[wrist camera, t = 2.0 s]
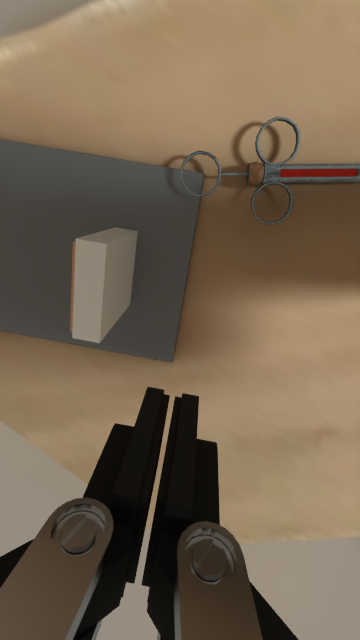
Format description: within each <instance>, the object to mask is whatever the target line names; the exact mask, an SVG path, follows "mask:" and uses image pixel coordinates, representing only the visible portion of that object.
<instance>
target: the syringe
mask: <svg viewBox="0 0 360 640" xmlns="http://www.w3.org/2000/svg"><path fill="white" fill-rule="evenodd" d="M276 120H278V121H285V122H287V123H288V124H290V125H291V126H292V127H293V129H294V131H295V133H296V145H295V149H294V152H293V153H292V155H291V156H290V158H289V159H287V160H286V161H284V162H282V163H277V164H273V163H270V162H268V161H266V160H265V159H264V157H263V156H262V155H261V153H260V150H259V143H258V142H259V137H260V134H261V133H262V131H263V129H264V128H265V127H266V126H267V125H268V124H270V123H272V122H274V121H276ZM299 144H300V131H299V129H298V127H297V125H296V124H295V123H294V122H293V121H291V120H290V119H288V118H284V117H275V118H273V119H271V120H269V121H268V122H267V123H266V124H265V125H264V126H263V127H262V128H261V129H260V131H259V133H258V135H257V137H256V142H255V146H256V152H257V155H258V157H259V158H260V159H261V161H262V162H263V163H264V164H261V163H258V162H253V163H248V167H247V173H221V167H220V164H219V162H218V160H217V158H216V157H214V156H213V155H211V154H210V153H208V152H203V151H197V152H194V153H192V154H190V155H189V156H188V157H187V158H186V159H185V160H184V162H183V164H182V166H181V170H180V178H181V183H182V185H183V187H184V188H185V189H186V190H187V191H188V192H189V193H190V194H192V195H194V196H197V197H200V196H206V195H208V194H210V193H211V192H213V191H214V190H216V188H217V186H218V185H219V183H220V179H221V176H234V175H247V176H246V182H247V185H253V186H255V185H258V184H261V183H262V185H261V186H260V187H259V188H258V189H257V190H256V191H255V193H254V195H253V197H252V201H251V210H252V212H253V215H254V216H255V217H256V218H257V219H258V220H259V221H260V222H262V223H265V224H267V225H270V224H276V223H278V222H280V221H282V220H284V219H285V218H286V217H287V216H288V214H289V213H290V212H291V208H292V205H293V195H292V193H291V191H290V189H289V187H287V186H286V185H284V184H283V183H325V182H360V164H285V163H286V162H288V161H290V160H291V159H293V157H294V156H295V154H296V153H297V151H298V148H299ZM197 154H203V155H208V156H209V157H211V158H212V159H214V160H215V162H216V164H217V166H218V173H219V176H218V181H217V184H216V185H215V187H214V189H212V190H211V191H209V192H208V193H206V194H199V195H198V194H195V193H193V192H191V191H190V190H189V189H188V188H187V187H186V185H185V183H184V181H183V176H182V174H183V168H184V166H185V164H186V162H187V161H188V160H189V159H190V158H191V157H193V156H195V155H197ZM283 164H285V165H283ZM271 183H272V184H279V185H280V186H282V187H284V188H285V189H286V191H287V193H288V195H289V206H288V210H287V212H286V213H285V215H284V216H283V217H282V218H280V219H278V220H277V221H273V222H266V221H263V220H261V219H260V218H259V217H258V216H257V214H256V212H255V210H254V200H255V197H256V195H257V193H258V192H259V191H260V190H261V189H262V188H263V187H264V186H266V185H269V184H271Z"/></svg>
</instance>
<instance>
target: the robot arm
mask: <svg viewBox="0 0 360 640" xmlns="http://www.w3.org/2000/svg"><path fill="white" fill-rule="evenodd" d="M169 397H170V395H164V390H162V389H157V388H151V387H148V388H147V390H146V393H145V396H144V399H143V402H142V405H141V408H140V411H139V414H138V417H137V420H136V423H135V426H134V427H132V426H127V425H121V424H116V423H115V424H114V426H113V428H112V430H111V433H110V435H109V437H108V440H107V442H106V444H105V447H104V449H103V451H102V454H101V456H100V458H99V461H98V463H97V465H96V468H95V470H94V472H93V475H92V477H91V479H90V482H89V484H88V486H87V489H86V491H85V493H84V496H83V498H77V499H74V500H71V501H68V502H66V503H64V504H63V505H62V506H60V507H58V508H57V509H56V510H55V511H54V512H53V513H52V514H51V516H50V517H49V518H48V520H47V521H46V523H45V524H44V525H43V527H42V528H41V530H40V531H39V533H38V534H37V536H36V537H35V539H33V540H31V541H29V542H27V543H25V544H23V545H22V546H20V547H18V548H16V549H14V550H12V551H10V552H9V553H7V554H5V555H3V556H1V557H0V640H96V637H97V634H98V632H99V629H100V626H101V623H102V619H103V618H104V617H105V616H107V615H108V614H109V613H110V612H112V611H113V610H114V609H115V608H117V607H118V606H119V604H120V600H121V597H123V593H124V589H125V584H126V582H129V583H134V582H135V577H136V571H137V566H138V561H139V557H140V552H141V547H142V542H143V536H144V531H145V526H146V521H147V516H148V511H149V506H150V501H151V496H152V491H153V486H154V481H155V476H156V471H157V466H158V460H159V455H160V449H161V443H162V437H163V432H164V426H165V420H166V414H167V408H168V403H169ZM198 404H199V396H194V395H189V394H184V393H182V398H180V397H175V401H174V407H173V412H172V418H171V423H170V429H169V434H168V440H167V445H166V451H165V456H164V462H163V467H162V473H161V479H160V484H159V490H158V495H157V501H156V507H155V512H154V518H153V523H152V529H151V535H150V541H149V546H148V552H147V558H146V563H145V569H144V574H143V580H142V585H144V586H149V587H150V588H149V595H148V601H147V602H148V608H147V612H148V614H149V616H150V618H151V619H152V621H153V623H154V625H155V626H156V628H157V630H158V635H157V640H298V639H297V637H296V636H295V635H294V634H293V633H292V632H291V630H290V629H289V628H288V627H287V625H286V624H285V623H284V622H283V621H282V619H281V618H280V617H279V616H278V615H277V614H276V613H275V611H274V610H273V609H272V608H271V606H270V605H269V604H268V603H267V602H266V600H265V599H264V598H263V597H262V596H261V594H260V593H259V592H258V591H257V590H256V589H255V587H254V586H253V585H252V584H251V582H250V581H249V578H248V573H247V569H246V564H245V560H244V556H243V553H242V550H241V548H240V545H239V543H238V542H237V540H236V539H235V537H234V536H233V535H232V534H231V533H230V532H229V531H228V530H227V529H226V528H224V527H222V526H220V520H219V486H218V452H217V443H216V442H211V441H206V440H200V439H197V422H198Z"/></svg>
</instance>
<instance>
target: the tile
mask: <svg viewBox="0 0 360 640" xmlns="http://www.w3.org/2000/svg"><path fill="white" fill-rule="evenodd" d="M137 234H138V231H135V230H129V229H123V228H117V227H115V228H111V229H108V230H104V231H101V232H97V233H94V234H90V235H87V236H83V237H80V238H76V241H74V242H73V252H72V284H71V315H70V332H72V338H74V339H80V340H85V341H90V342H96V343H100V342H101V341H102V340H103V338H104V337H105V336H106V334H107V333H108V332H109V331H110V329H111V328H112V327H113V325H114V324H115V323H116V322H117V320H118V319H119V318H120V317H121V315H122V314H123V313H124V311H125V310H126V309H127V308H128V306H129V305H130V300H131V291H132V281H133V272H134V262H135V253H136V243H137Z"/></svg>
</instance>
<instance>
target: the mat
mask: <svg viewBox="0 0 360 640" xmlns="http://www.w3.org/2000/svg"><path fill="white" fill-rule="evenodd" d="M180 170H181V169H175V168H169V167H163V166H157V165H151V164H145V163H139V162H133V161H127V160H121V159H115V158H109V157H103V156H97V155H91V154H85V153H79V152H73V151H67V150H61V149H55V148H49V147H43V146H37V145H31V144H25V143H19V142H13V141H7V140H1V139H0V331H5V332H10V333H16V334H21V335H27V336H32V337H37V338H43V339H48V340H53V341H59V342H64V343H69V344H75V345H80V346H86V347H91V348H96V349H102V350H107V351H112V352H118V353H123V354H129V355H134V356H139V357H145V358H150V359H155V360H161V361H166V362H172V361H173V356H174V350H175V344H176V338H177V332H178V326H179V320H180V314H181V308H182V303H183V297H184V291H185V285H186V279H187V273H188V267H189V261H190V255H191V249H192V243H193V237H194V232H195V226H196V220H197V214H198V208H199V202H200V197H197V196H194V195H192V194H190V193H189V192H188V191H187V190H186V189H185V188H184V187H183V185H182V183H181V178H180ZM182 176H183V181H184V183H185V185H186V187H187V188H188V189H189V190H190V191H191V192H193V193H195V194H198V195H199V194H201V190H202V184H203V178H204V173H199V172H193V171H187V170H183V174H182ZM115 227H117V228H123V229H129V230H135V231H138V234H137V243H136V253H135V262H134V272H133V281H132V291H131V300H130V305H129V306H128V308H127V309H126V310H125V311H124V313H123V314H122V315H121V317H120V318H119V319H118V320H117V322H116V323H115V324H114V325H113V327H112V328H111V329H110V331H109V332H108V333H107V334H106V336H105V337H104V338H103V340H102V341H101V342H100V343H96V342H90V341H85V340H80V339H74V338H72V332H70V315H71V284H72V252H73V242H74V241H76V238H80V237H83V236H87V235H90V234H94V233H97V232H101V231H104V230H108V229H111V228H115Z"/></svg>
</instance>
